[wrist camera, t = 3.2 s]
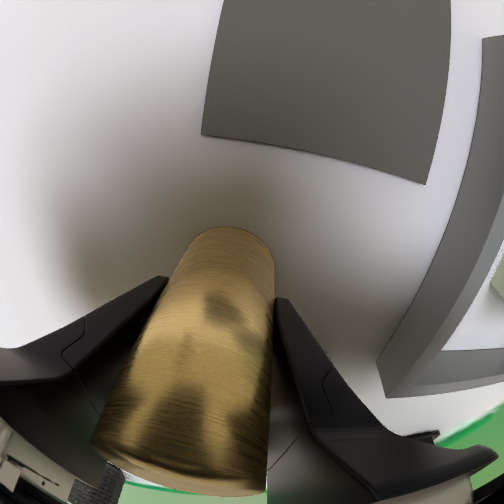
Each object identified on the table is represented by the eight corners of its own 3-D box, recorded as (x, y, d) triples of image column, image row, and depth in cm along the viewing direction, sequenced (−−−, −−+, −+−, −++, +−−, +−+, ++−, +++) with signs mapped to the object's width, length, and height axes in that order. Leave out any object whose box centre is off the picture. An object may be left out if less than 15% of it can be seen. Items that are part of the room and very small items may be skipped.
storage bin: (33, 430, 41) (17, 465, 30) (7, 400, 32) (-15, 442, 21) (126, 479, 44) (115, 519, 32) (120, 465, 35) (103, 518, 23)
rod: (265, 310, 12) (250, 501, 5) (184, 296, 12) (115, 470, 5) (283, 235, 10) (287, 473, 3) (186, 219, 10) (61, 414, 3)
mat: (421, 183, 8) (425, 185, 8) (202, 133, 8) (200, 134, 8) (443, -38, 3) (446, -40, 3) (253, -93, 3) (253, -97, 3)
